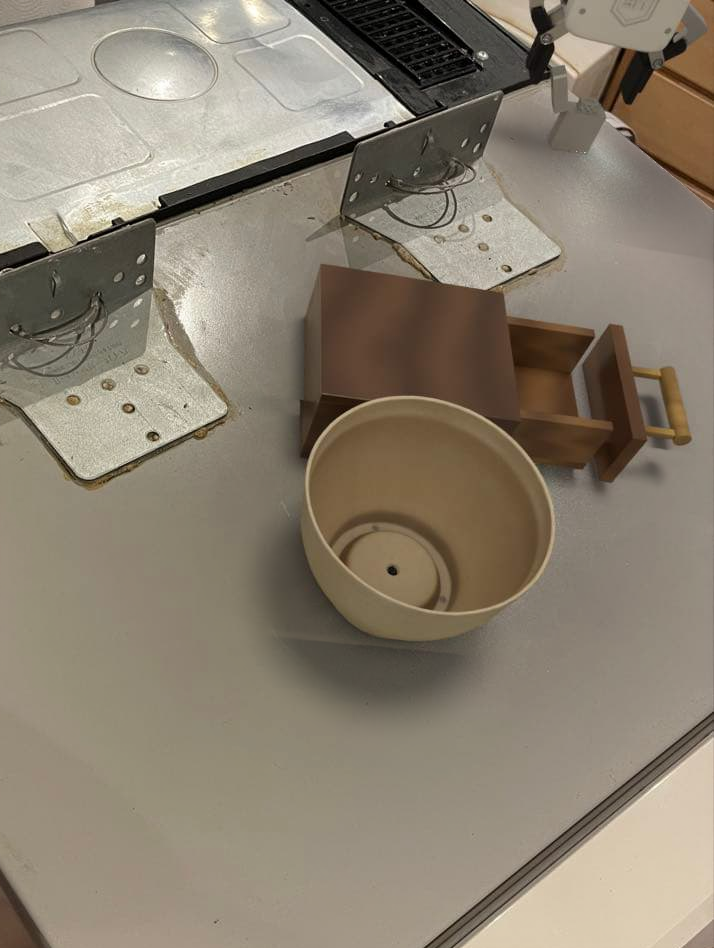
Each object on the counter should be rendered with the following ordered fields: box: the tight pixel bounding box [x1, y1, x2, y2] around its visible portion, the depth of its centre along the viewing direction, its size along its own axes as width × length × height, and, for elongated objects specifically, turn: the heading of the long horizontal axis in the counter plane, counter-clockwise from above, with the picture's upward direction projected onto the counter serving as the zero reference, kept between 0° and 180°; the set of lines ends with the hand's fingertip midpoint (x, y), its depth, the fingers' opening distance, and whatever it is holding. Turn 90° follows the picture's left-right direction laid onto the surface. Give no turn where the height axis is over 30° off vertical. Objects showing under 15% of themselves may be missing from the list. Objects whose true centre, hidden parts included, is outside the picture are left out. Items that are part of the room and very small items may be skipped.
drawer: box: [507, 315, 693, 484], centre depth 78 cm, size 19×11×6 cm, turn 90°
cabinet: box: [299, 263, 521, 459], centre depth 76 cm, size 15×13×8 cm
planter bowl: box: [300, 396, 556, 642], centre depth 66 cm, size 16×16×11 cm
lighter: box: [547, 64, 607, 154], centre depth 98 cm, size 7×2×8 cm, turn 92°
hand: (579, 85), depth 96 cm, fingers open, 9 cm apart
